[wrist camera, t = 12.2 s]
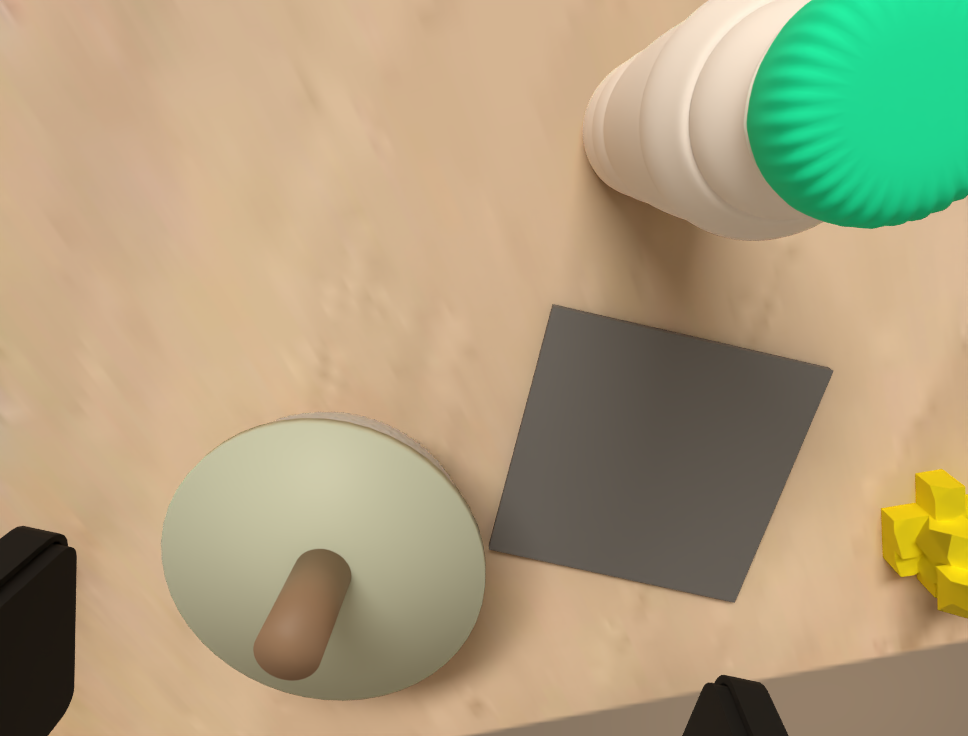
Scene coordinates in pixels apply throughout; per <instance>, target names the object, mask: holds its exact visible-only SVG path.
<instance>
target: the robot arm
mask: <svg viewBox="0 0 968 736" xmlns="http://www.w3.org/2000/svg"><path fill="white" fill-rule="evenodd" d="M76 564H77V555H76V551H75V549H74V548H72V547H68V543H67V539H66V537H65V536H64V535H62V534H59V533H54V532H49V531H45V530H40V529H35V528H31V527H26V526H20V527H16V528H15V529H13V530H11V531H10V532H9V533H7V534H6V535H5V536H3V537H2V538H1V539H0V736H48V735H49V733H50V732H51V731H52V730H53V728H54V727H55V726H56V724H57V723H58V722H59V721H60V719H61V718H62V717H63V715H64V714H65V712H66V710H67V708H68V706H69V704H70V702H71V699H72V696H73V692H74V670H75V617H76ZM682 736H788V734H787V732H786V729H785V727H784V725H783V723H782V721H781V719H780V716H779V714H778V712H777V710H776V708H775V706H774V704H773V701H772V699H771V697H770V695H769V693H768V691H767V689H766V688H765V686H764V685H762V684H761V683H760V682H755V681H751V680H746V679H741V678H736V677H732V676H727V675H721V676H719V677H718V678H717V680H716V681H715V683H707V684H705V685H704V687H703V689H702V691H701V693H700V696H699V698H698V701H697V703H696V705H695V707H694V710H693V712H692V714H691V717H690V719H689V721H688V724H687V726H686V728H685V731H684V733H683V735H682Z"/></svg>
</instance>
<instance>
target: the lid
mask: <svg viewBox="0 0 968 736" xmlns="http://www.w3.org/2000/svg"><path fill="white" fill-rule="evenodd" d="M161 550H162V564H163V569H164V575H165V579H166V582H167V585H168V588H169V591H170V594H171V596H172V598H173V600H174V602H175V604H176V606H177V608H178V610H179V612H180V614H181V615H182V617H183V618H184V620H185V621H186V623H187V624H188V626H189V627H190V629H191V630H192V631H193V632H194V633H195V634H196V636H197V637H198V638H199V639H200V640H201V642H202V643H203V644H205V645H206V646H207V647H208V648H209V649H210V650H211V651H212V652H213V653H214V654H215V655H216V656H218V657H219V658H220V659H222V660H223V661H224V662H226V663H227V664H228V665H230V666H231V667H232V668H234V669H236V670H237V671H239V672H241V673H242V674H244V675H246V676H247V677H249V678H251V679H253V680H255V681H258V682H260V683H262V684H264V685H266V686H269V687H272V688H274V689H277V690H280V691H283V692H286V693H290V694H294V695H298V696H302V697H308V698H315V699H322V700H342V701H344V700H359V699H367V698H373V697H379V696H383V695H387V694H390V693H393V692H397V691H400V690H402V689H405V688H407V687H409V686H412V685H414V684H416V683H418V682H420V681H421V680H423V679H425V678H427V677H428V676H430V675H432V674H433V673H434V672H436V671H437V670H438V669H440V668H441V667H442V666H443V665H445V664H446V663H447V662H448V661H449V660H450V659H451V658H452V657H453V656H454V655H455V654H456V653H457V652H458V651H459V649H460V648H461V646H462V645H463V644H464V642H465V641H466V640H467V638H468V637H469V635H470V633H471V631H472V629H473V627H474V625H475V623H476V621H477V618H478V615H479V612H480V609H481V606H482V601H483V595H484V589H485V554H484V547H483V541H482V538H481V535H480V531H479V528H478V525H477V523H476V520H475V518H474V516H473V514H472V512H471V510H470V508H469V506H468V504H467V503H466V501H465V500H464V498H463V497H462V495H461V493H460V492H459V490H458V489H457V488H456V487H455V486H454V484H453V483H452V482H451V481H450V480H449V479H448V477H447V476H446V475H445V474H444V473H443V472H442V471H441V470H440V469H439V468H438V467H436V466H435V465H434V464H433V463H432V462H431V461H430V460H429V459H427V458H426V457H424V456H423V455H422V454H420V453H419V452H417V451H416V450H415V449H413V448H412V447H410V446H408V445H407V444H405V443H403V442H401V441H399V440H397V439H395V438H394V437H392V436H390V435H387V434H384V433H382V432H379V431H377V430H374V429H372V428H369V427H365V426H362V425H358V424H354V423H350V422H346V421H339V420H332V419H322V418H299V419H289V420H280V421H276V422H271V423H267V424H263V425H259V426H257V427H254V428H251V429H249V430H246V431H243V432H241V433H239V434H237V435H235V436H233V437H232V438H230V439H228V440H226V441H224V442H223V443H221V444H220V445H219V446H217V447H216V448H215V449H213V450H212V451H211V452H209V453H208V454H207V455H206V456H205V457H204V458H203V459H202V460H201V461H200V462H199V463H198V464H197V465H196V466H195V467H194V468H193V469H192V470H191V471H190V472H189V473H188V474H187V476H186V477H185V479H184V480H183V482H182V483H181V484H180V486H179V487H178V489H177V490H176V492H175V494H174V496H173V498H172V501H171V503H170V505H169V507H168V510H167V514H166V517H165V520H164V524H163V532H162V540H161Z"/></svg>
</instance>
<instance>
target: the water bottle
mask: <svg viewBox="0 0 968 736" xmlns="http://www.w3.org/2000/svg"><path fill="white" fill-rule="evenodd" d="M583 143H584V148H585V152H586V155H587V158H588V160H589V162H590V164H591V166H592V168H593V170H594V171H595V173H596V174H597V175H598V176H599V177H600V178H601V180H602V181H603V182H605V183H606V184H607V185H608V186H610V187H611V188H612V189H614V190H616V191H618V192H620V193H622V194H625V195H627V196H630V197H632V198H634V199H637V200H639V201H642V202H645V203H648V204H650V205H652V206H653V207H655V208H657V209H659V210H661V211H663V212H666V213H668V214H671V215H673V216H676V217H678V218H681V219H684V220H687V221H688V222H690V223H691V224H693V225H695V226H697V227H699V228H701V229H703V230H705V231H707V232H709V233H712V234H715V235H718V236H722V237H726V238H731V239H737V240H749V241H759V240H771V239H777V238H782V237H787V236H790V235H794V234H797V233H800V232H802V231H805V230H808V229H810V228H812V227H814V226H816V225H818V224H820V223H822V222H827V223H831V224H835V225H839V226H844V227H857V228H868V229H873V228H878V227H882V226H895V225H900V224H903V223H905V222H907V221H915V220H920V219H923V218H925V217H927V216H928V215H929V214H930V213H935V212H939V211H943V210H945V209H946V208H947V207H949V206H950V204H951V203H952V202H954V201H957V200H961V199H964V198H965V197H966V196H967V195H968V0H709V1H707V2H706V3H704V4H703V5H702V6H700V7H699V8H698V9H697V10H695V11H694V12H693V13H692V14H691V15H690V16H689V17H688V18H687V19H686V20H684V21H683V22H681V23H679V24H678V25H676V26H675V27H673V28H671V29H670V30H669V31H667V32H666V33H664V34H663V35H661V36H660V37H659V38H657V39H656V40H655V41H654V42H652V43H651V44H650V45H649V46H647V47H646V48H645V49H644V50H643V51H641V52H639V53H637V54H636V55H634V56H633V57H631V58H630V59H629V60H627V61H626V62H624V63H623V64H621V65H620V66H618V67H617V68H615V69H614V70H613V71H612V72H610V73H609V74H608V75H607V76H606V77H605V78H604V79H603V80H602V81H601V83H600V84H599V85H598V87H597V88H596V90H595V91H594V93H593V95H592V97H591V99H590V101H589V103H588V106H587V109H586V112H585V116H584V122H583Z"/></svg>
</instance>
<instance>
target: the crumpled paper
mask: <svg viewBox="0 0 968 736" xmlns="http://www.w3.org/2000/svg"><path fill="white" fill-rule="evenodd" d="M915 486H916V503H911V504H905V505H899V506H893V507H887V508H881V521H882V548H883V558H884V559H885V560H886V561H887V562H888V563H889V564H890V566H891V567H892V568H893V569H894V570H895V571H896V572H897V573H898V574H899V576H900V577H905V576H911V575H915V574H917V579H918V580H919V581H920V582H921V583H922V584H923V585H924V587H925V588H926V589H927V590H928V591H929V592H930V593H931V594H932V595H933V596H934V597H935V598H937V605H938V610H940V611H943V612H947V613H950V614H954V615H957V616H961V617H964V618H968V494H966V495H965V486H964V485H963V484H961V483H960V482H959V481H957V480H956V479H955V478H953V477H952V476H951V475H949V474H948V473H947V472H945V471H944V470H943V469H939V470H933V471H927V472H921V473H915Z"/></svg>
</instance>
